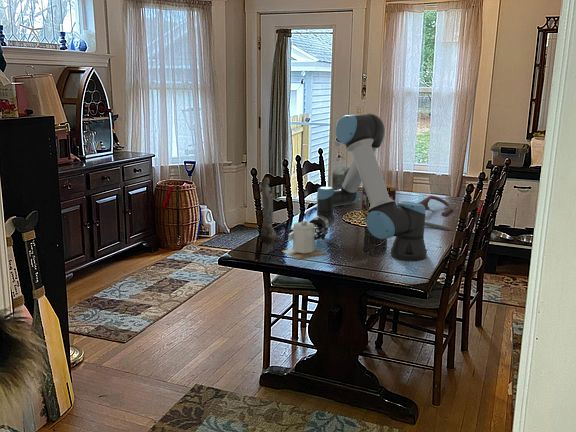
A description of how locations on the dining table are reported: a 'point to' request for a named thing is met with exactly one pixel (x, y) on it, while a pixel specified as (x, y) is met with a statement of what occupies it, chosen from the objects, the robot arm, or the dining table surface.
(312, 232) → the white lidded jar
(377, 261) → the dining table surface
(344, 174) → the concrete block
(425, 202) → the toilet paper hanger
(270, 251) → the dining table surface
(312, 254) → the board
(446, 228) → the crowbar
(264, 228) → the statue
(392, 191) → the supplement box
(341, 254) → the dining table surface
